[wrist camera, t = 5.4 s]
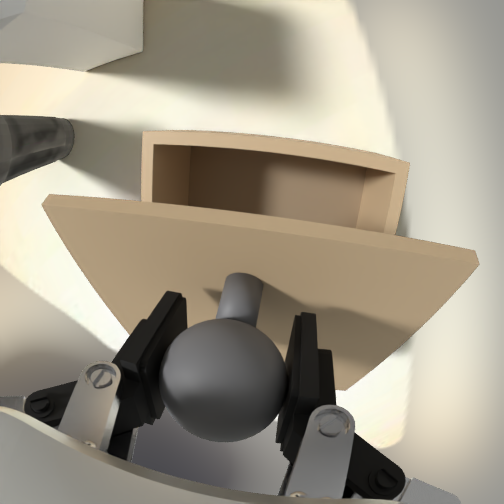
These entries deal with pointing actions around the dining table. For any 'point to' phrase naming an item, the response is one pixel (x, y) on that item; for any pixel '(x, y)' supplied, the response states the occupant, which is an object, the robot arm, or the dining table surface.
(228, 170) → the light brown open box
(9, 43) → the milk carton
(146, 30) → the dining table surface
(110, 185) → the dining table surface
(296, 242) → the flap
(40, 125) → the beverage cup
